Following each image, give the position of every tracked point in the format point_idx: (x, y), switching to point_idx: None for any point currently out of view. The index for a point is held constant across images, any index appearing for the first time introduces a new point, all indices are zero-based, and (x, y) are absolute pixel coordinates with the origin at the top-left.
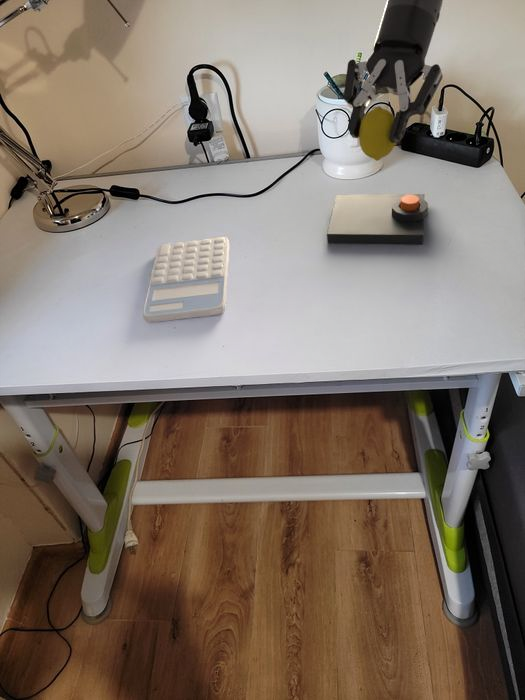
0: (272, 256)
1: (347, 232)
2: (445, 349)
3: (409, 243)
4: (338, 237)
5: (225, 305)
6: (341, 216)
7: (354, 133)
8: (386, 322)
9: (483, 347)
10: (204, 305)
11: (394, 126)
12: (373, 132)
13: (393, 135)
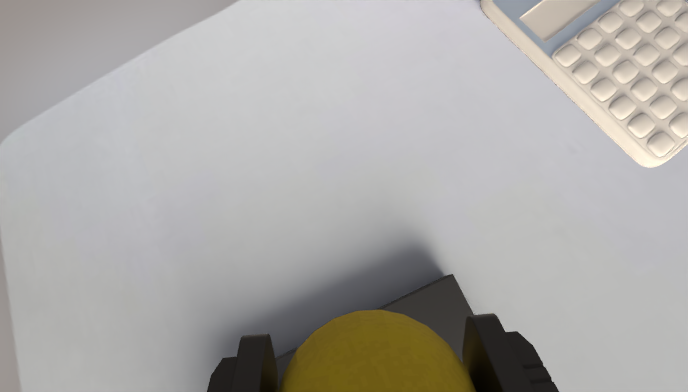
0: (522, 178)
1: (411, 302)
2: (100, 106)
3: None
4: (425, 286)
5: (488, 14)
6: None
7: (468, 324)
8: (212, 116)
9: (45, 137)
10: None
11: (247, 383)
12: (354, 322)
13: (243, 340)
